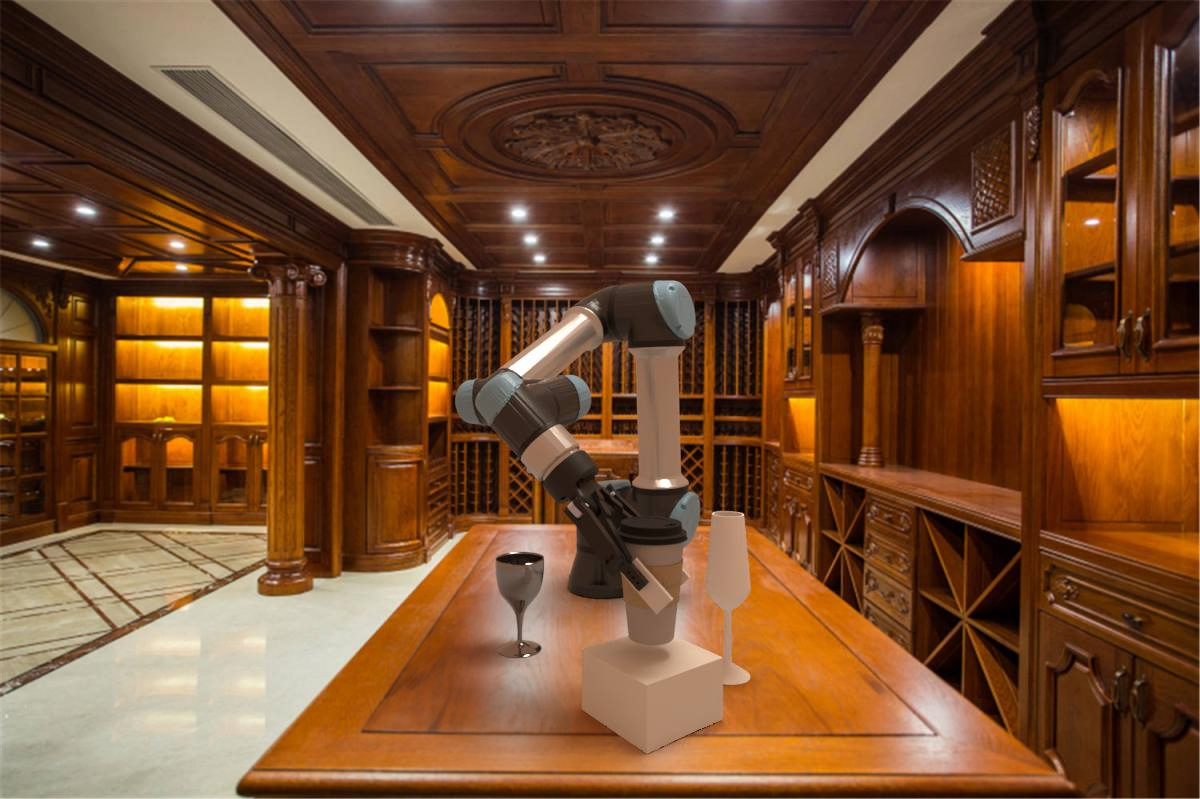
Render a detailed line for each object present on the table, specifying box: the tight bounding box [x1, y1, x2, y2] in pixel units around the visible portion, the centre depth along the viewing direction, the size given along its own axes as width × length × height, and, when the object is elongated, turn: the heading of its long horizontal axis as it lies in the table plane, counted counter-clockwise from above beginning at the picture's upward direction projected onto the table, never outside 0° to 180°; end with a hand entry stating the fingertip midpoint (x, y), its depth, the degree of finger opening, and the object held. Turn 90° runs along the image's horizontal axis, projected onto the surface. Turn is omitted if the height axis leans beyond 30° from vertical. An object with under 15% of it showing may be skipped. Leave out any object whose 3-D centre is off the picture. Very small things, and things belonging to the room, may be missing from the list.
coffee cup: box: [617, 516, 688, 646], centre depth 82 cm, size 9×9×15 cm
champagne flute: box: [704, 510, 752, 686], centre depth 94 cm, size 7×7×24 cm
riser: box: [581, 635, 724, 755], centre depth 82 cm, size 13×13×8 cm
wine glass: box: [494, 551, 545, 659], centre depth 103 cm, size 8×8×15 cm
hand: (674, 594), depth 81 cm, fingers closed on coffee cup, 9 cm apart
